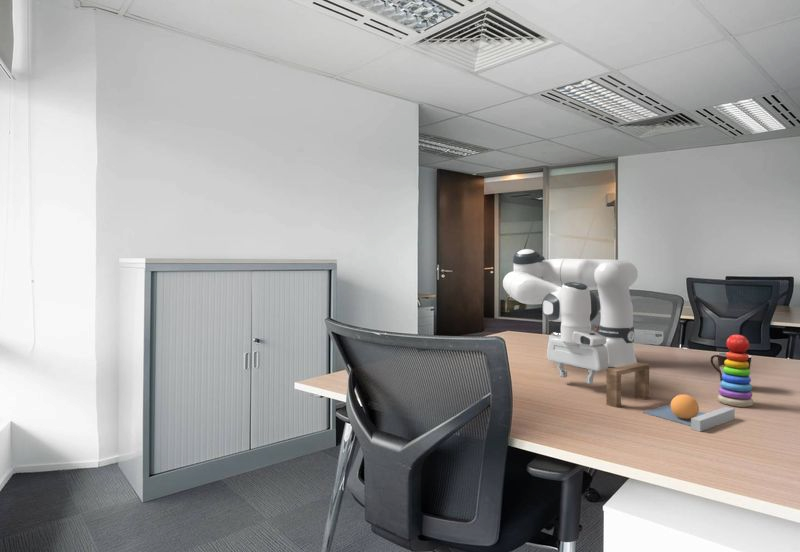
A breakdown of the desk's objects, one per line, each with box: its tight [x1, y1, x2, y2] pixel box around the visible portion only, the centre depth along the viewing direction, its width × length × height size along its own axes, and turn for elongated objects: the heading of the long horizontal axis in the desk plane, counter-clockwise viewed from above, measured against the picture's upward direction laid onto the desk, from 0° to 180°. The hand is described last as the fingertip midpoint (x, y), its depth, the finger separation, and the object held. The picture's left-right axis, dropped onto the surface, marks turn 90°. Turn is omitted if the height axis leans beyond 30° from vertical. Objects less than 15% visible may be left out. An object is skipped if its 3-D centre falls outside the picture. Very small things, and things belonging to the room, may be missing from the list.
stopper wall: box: [690, 406, 736, 432], centre depth 115 cm, size 2×16×2 cm, turn 121°
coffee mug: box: [710, 351, 752, 382], centre depth 148 cm, size 12×9×10 cm
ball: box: [670, 393, 700, 420], centre depth 119 cm, size 6×6×6 cm
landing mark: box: [642, 403, 706, 427], centre depth 122 cm, size 12×12×1 cm
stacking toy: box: [717, 334, 754, 408], centre depth 131 cm, size 8×8×19 cm
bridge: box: [605, 362, 650, 408], centre depth 134 cm, size 3×15×10 cm, turn 122°
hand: (575, 380), depth 149 cm, fingers open, 8 cm apart
